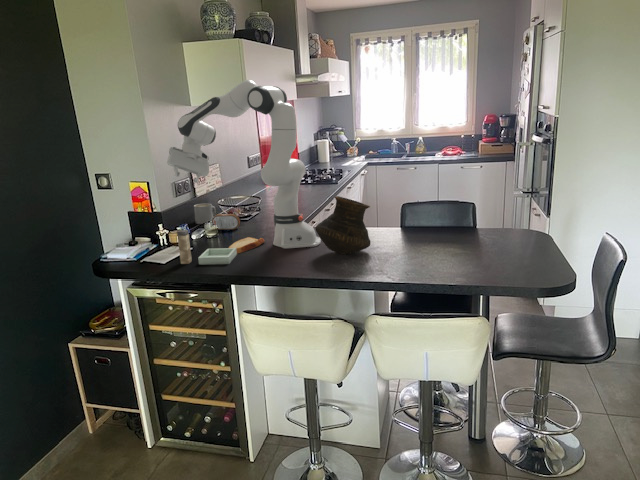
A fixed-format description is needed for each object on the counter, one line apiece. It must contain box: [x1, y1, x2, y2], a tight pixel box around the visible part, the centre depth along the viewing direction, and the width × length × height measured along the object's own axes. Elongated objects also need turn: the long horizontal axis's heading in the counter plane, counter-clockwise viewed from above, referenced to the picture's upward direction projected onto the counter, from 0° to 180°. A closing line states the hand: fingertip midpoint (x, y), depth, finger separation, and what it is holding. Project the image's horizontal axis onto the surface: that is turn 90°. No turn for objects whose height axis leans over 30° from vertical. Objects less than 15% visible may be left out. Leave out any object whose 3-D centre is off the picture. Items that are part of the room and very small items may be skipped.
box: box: [197, 247, 238, 265], centre depth 208 cm, size 13×13×3 cm
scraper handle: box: [176, 229, 193, 265], centre depth 204 cm, size 4×4×14 cm
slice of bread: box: [228, 236, 266, 255], centre depth 225 cm, size 18×18×4 cm
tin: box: [211, 213, 241, 231], centre depth 260 cm, size 15×3×8 cm, turn 84°
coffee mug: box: [193, 202, 217, 225], centre depth 280 cm, size 13×10×10 cm
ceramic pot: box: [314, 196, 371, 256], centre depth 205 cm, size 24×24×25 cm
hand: (186, 179), depth 231 cm, fingers open, 8 cm apart
